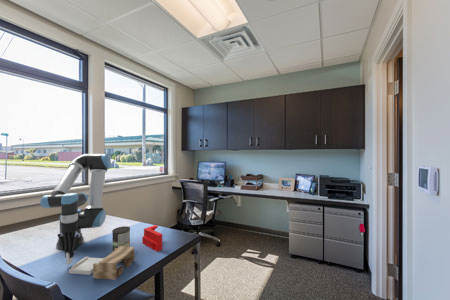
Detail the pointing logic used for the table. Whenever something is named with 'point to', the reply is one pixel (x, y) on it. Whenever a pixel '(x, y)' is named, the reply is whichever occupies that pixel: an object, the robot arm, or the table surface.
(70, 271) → the panel
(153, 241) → the bracket
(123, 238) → the coffee can
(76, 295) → the table surface
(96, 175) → the robot arm
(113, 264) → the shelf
